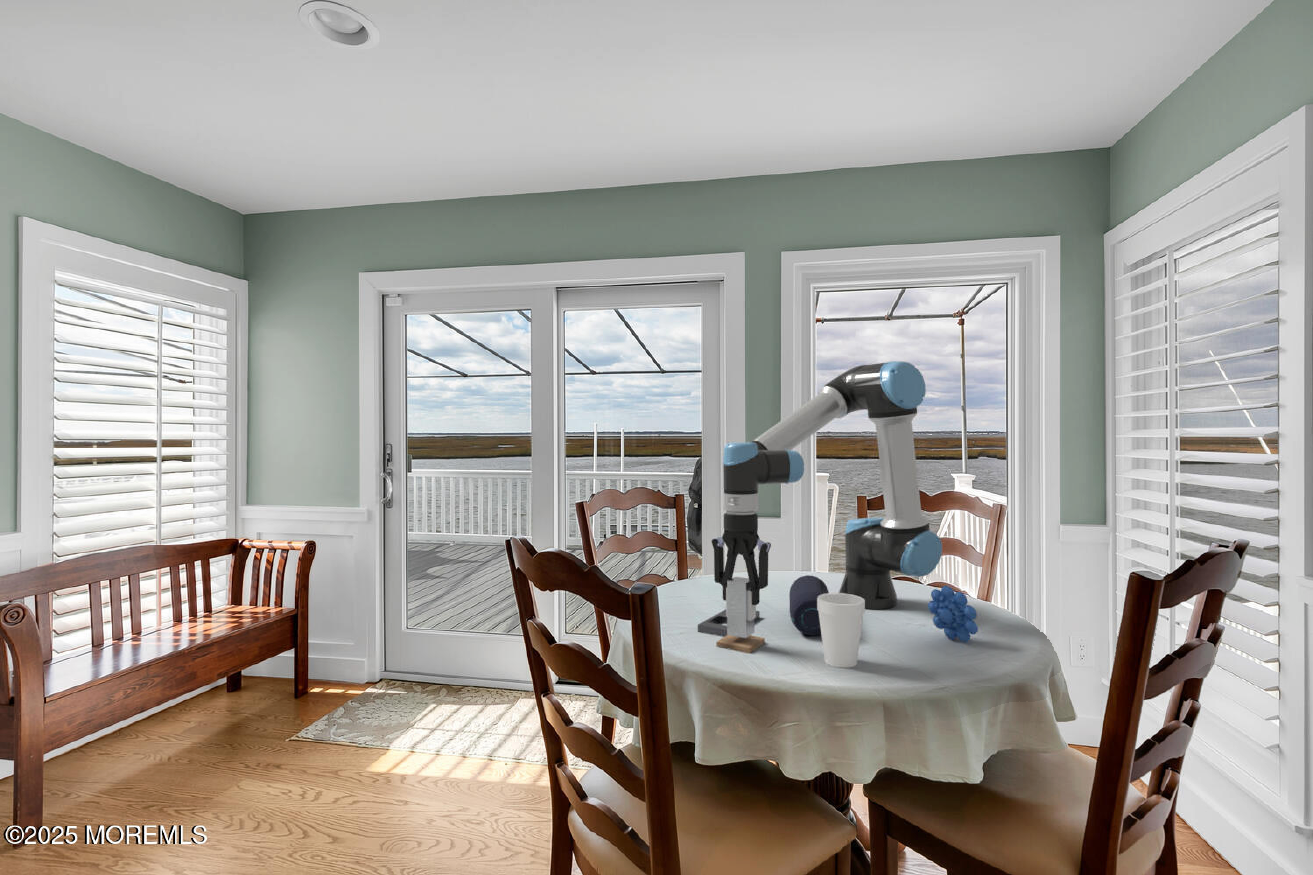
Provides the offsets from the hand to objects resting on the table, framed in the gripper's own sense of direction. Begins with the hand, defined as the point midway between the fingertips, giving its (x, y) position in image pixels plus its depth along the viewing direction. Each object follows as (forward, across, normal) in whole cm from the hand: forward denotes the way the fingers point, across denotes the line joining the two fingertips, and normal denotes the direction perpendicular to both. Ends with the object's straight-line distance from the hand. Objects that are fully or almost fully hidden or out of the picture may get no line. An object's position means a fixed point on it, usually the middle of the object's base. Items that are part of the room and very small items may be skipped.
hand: (740, 616), depth 145 cm
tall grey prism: (+4, 0, 0) cm, 4 cm away
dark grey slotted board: (+6, -8, +12) cm, 16 cm away
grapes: (+6, +39, +27) cm, 48 cm away
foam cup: (+6, +22, +1) cm, 23 cm away
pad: (+6, 0, 0) cm, 6 cm away
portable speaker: (+7, +8, +23) cm, 25 cm away
